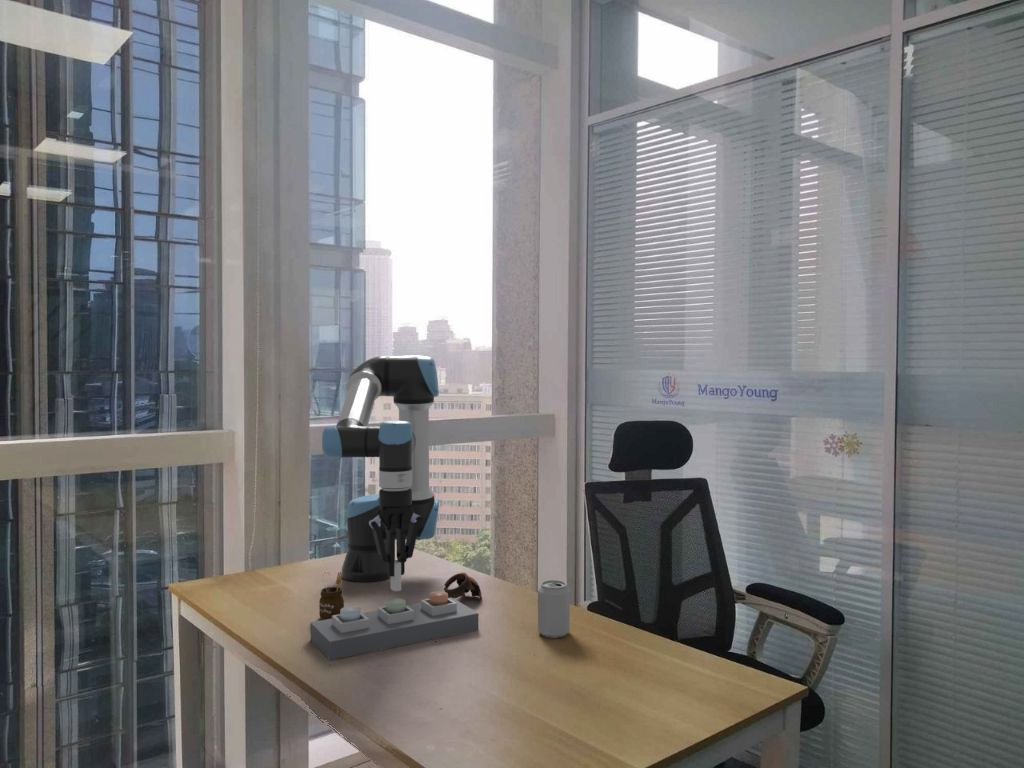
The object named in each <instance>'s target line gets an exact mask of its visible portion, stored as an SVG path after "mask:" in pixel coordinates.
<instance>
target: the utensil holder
mask: <svg viewBox="0 0 1024 768" xmlns="http://www.w3.org/2000/svg"><path fill="white" fill-rule="evenodd" d="M324 575H328V576H329V578H328V576H325V578H326V582H329V581H328V579H329V580H330V583H332V575H331V574H330V572H328V571H326V572H324V574H322V575H321V576H322V577H324ZM342 575H343V571H342V570H341V571H340V572H337V577H336V581H335V585H337V586H333V585H332V584H330V586H329V583H327V586H324V587H323V588H322V589H321V590H320V597H319V598H320V599H319V601H318V602H319V605H318V607H319V608H318V609H319V612H318V613H319V619H320V620H327V619H332V616H333V615H339V614H340V609H342V608H344V607H345V600H344V596H343V588H341V587H340V584H341V583H342V580H343V577H342ZM325 578H322V579H321V580H322V583H323V584H325Z"/></svg>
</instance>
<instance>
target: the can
mask: <svg viewBox="0 0 1024 768" xmlns="http://www.w3.org/2000/svg"><path fill="white" fill-rule="evenodd" d="M570 609H571V591H570V588H569V587H568V583H567V582H566V581H564V580H557V579H549V580H544V581H541V582H540V586H539V587H538V589H537V632H538V633H539V634H540V635H541V636H542V635H543V636H542V637H544V636H545V638H548V637H549V639H558V637H561V638H563V637H562V636H564V637H566V636H567V634H569V632H570V629H571V628H570V625H571V623H570V622H571V619H570V618H571V615H570V611H571V610H570ZM550 637H551V638H550Z"/></svg>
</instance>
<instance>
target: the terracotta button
mask: <svg viewBox="0 0 1024 768" xmlns="http://www.w3.org/2000/svg"><path fill="white" fill-rule="evenodd" d="M429 599H430V604H432V605H444V604H447V603H448V593H446V592H445V591H443V590H442V591H432V592H430V593H429Z"/></svg>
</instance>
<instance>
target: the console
mask: <svg viewBox="0 0 1024 768" xmlns="http://www.w3.org/2000/svg"><path fill="white" fill-rule="evenodd" d="M405 605H406V604H405ZM309 626H310V627H309V629H310V630H309V631H310V640H311V641H312V643H313V644H314V645H315V646H316V647H317V648H318V649H319V650H320V652H322V654H324V656H325V657H326V656H327V657H326V658H327V659H328V660H329V661H334V660H337V659H338V658H339V659H342V658H347V657H352V656H357V655H363V654H368V653H372V652H371V651H373V652H376V651H375V650H378V651H381V650H380V649H383V650H386V649H385V648H388V649H391V648H390V647H393V648H396V646H397V647H402V646H407V645H412V644H417V643H421V641H422V642H425V640H427V641H431V640H430V639H432V640H436V638H437V639H440V638H441V637H442V638H445V637H450V636H456V635H461V634H466V633H469V632H475V631H479V613H478V612H477V611H475V610H473V609H472V608H470V607H469V606H467V605H465V604H464V603H462V602H460V601H458V600H457V599H456V598H448V603H447V604H444V605H432V604H430V598H425V599H421V600H420V602H419V603H417V602H416V603H413V604H407V605H406V610H405V611H404V612H400V613H389V612H387V611H386V605H384V606H381V607H380V606H379V607H377V610H374V611H373V610H371V611H368V612H361V611H360V619H359V620H355V621H350V622H347V621H342V620H341V619H340V614H339V615H333V616H332V619H327V620H322V619H320V620H316V621H310V625H309ZM416 642H417V643H416ZM406 644H407V645H406ZM401 645H402V646H401ZM367 652H368V653H367ZM339 659H338V660H339Z"/></svg>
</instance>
